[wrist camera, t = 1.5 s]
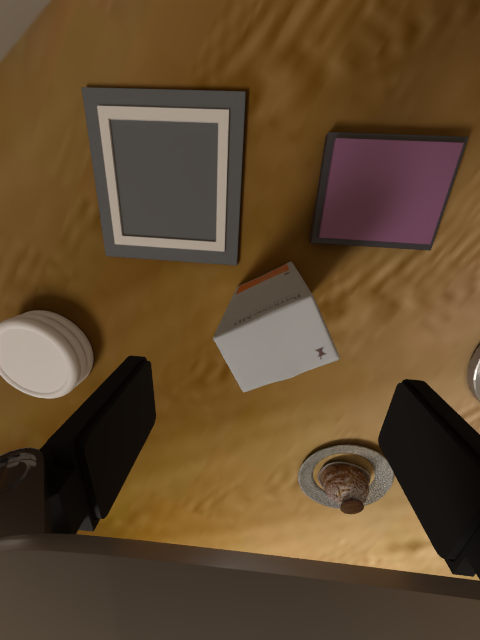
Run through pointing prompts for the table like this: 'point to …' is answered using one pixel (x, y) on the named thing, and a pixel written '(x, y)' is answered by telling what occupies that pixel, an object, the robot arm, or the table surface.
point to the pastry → (346, 479)
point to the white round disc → (43, 354)
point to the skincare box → (273, 330)
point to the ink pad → (384, 189)
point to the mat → (168, 171)
